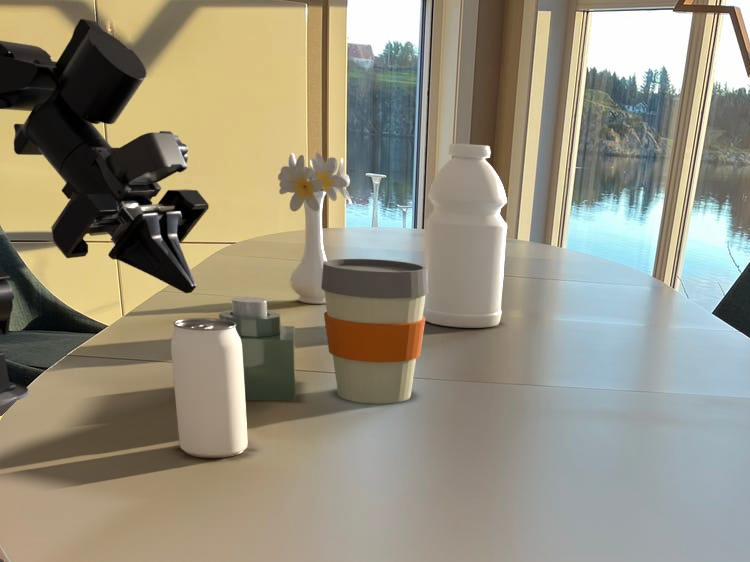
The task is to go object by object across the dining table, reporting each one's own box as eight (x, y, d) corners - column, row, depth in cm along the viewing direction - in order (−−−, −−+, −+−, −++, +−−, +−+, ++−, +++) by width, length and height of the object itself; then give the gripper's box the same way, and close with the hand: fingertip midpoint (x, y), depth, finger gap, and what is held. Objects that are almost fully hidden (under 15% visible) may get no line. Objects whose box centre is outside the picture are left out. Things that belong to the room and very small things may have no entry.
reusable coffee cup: (302, 390, 116) (298, 260, 109) (378, 378, 124) (379, 256, 117) (369, 412, 109) (370, 274, 102) (445, 398, 117) (451, 269, 110)
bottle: (430, 312, 174) (436, 142, 161) (504, 319, 173) (516, 147, 160) (415, 324, 162) (420, 141, 149) (494, 331, 161) (506, 146, 148)
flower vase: (278, 308, 169) (272, 151, 157) (285, 293, 185) (279, 150, 173) (352, 311, 170) (351, 156, 159) (352, 296, 186) (351, 154, 175)
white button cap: (231, 320, 108) (230, 301, 108) (233, 314, 112) (232, 296, 111) (266, 321, 109) (266, 302, 108) (268, 315, 113) (267, 297, 112)
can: (260, 446, 95) (254, 322, 89) (224, 463, 89) (215, 332, 84) (204, 436, 96) (195, 314, 91) (166, 452, 91) (153, 324, 85)
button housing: (208, 399, 110) (202, 319, 106) (214, 381, 118) (209, 306, 113) (295, 401, 111) (292, 322, 107) (296, 383, 119) (293, 309, 115)
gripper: (59, 90, 81) (182, 240, 83) (185, 102, 97) (285, 228, 99) (0, 184, 86) (117, 323, 89) (128, 182, 102) (224, 299, 105)
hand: (191, 290), depth 95 cm, fingers closed
